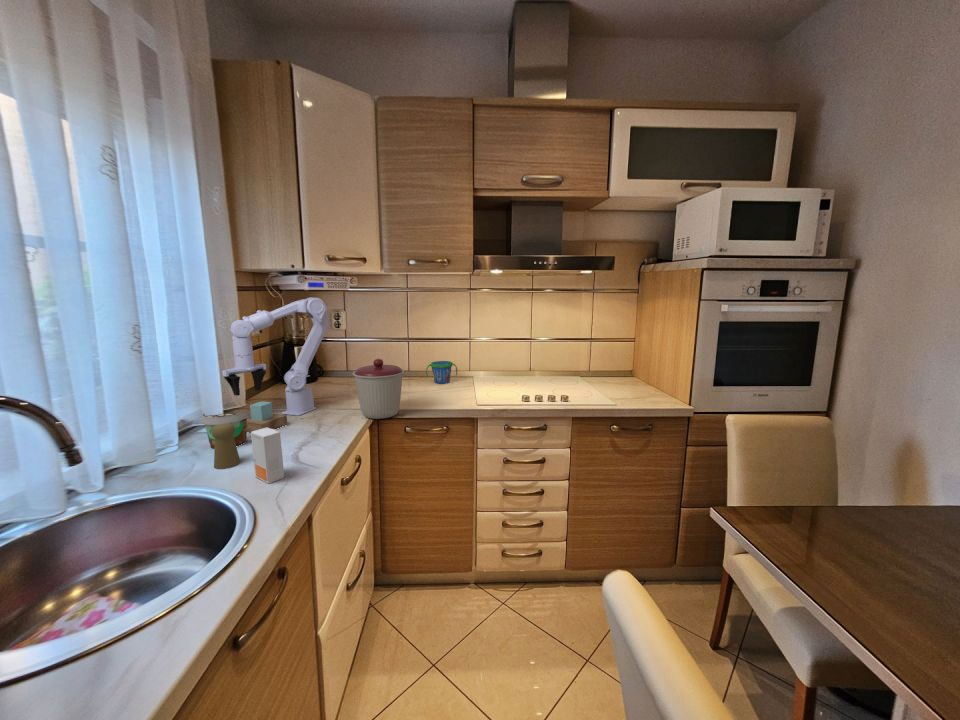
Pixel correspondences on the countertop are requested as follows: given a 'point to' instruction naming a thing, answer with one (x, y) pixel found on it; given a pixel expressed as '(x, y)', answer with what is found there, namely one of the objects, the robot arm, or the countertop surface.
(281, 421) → the walnut block
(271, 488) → the countertop surface
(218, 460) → the cork
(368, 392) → the canister
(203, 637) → the countertop surface
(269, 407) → the teal block
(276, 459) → the skincare box
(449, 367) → the snack cup
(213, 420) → the food container
